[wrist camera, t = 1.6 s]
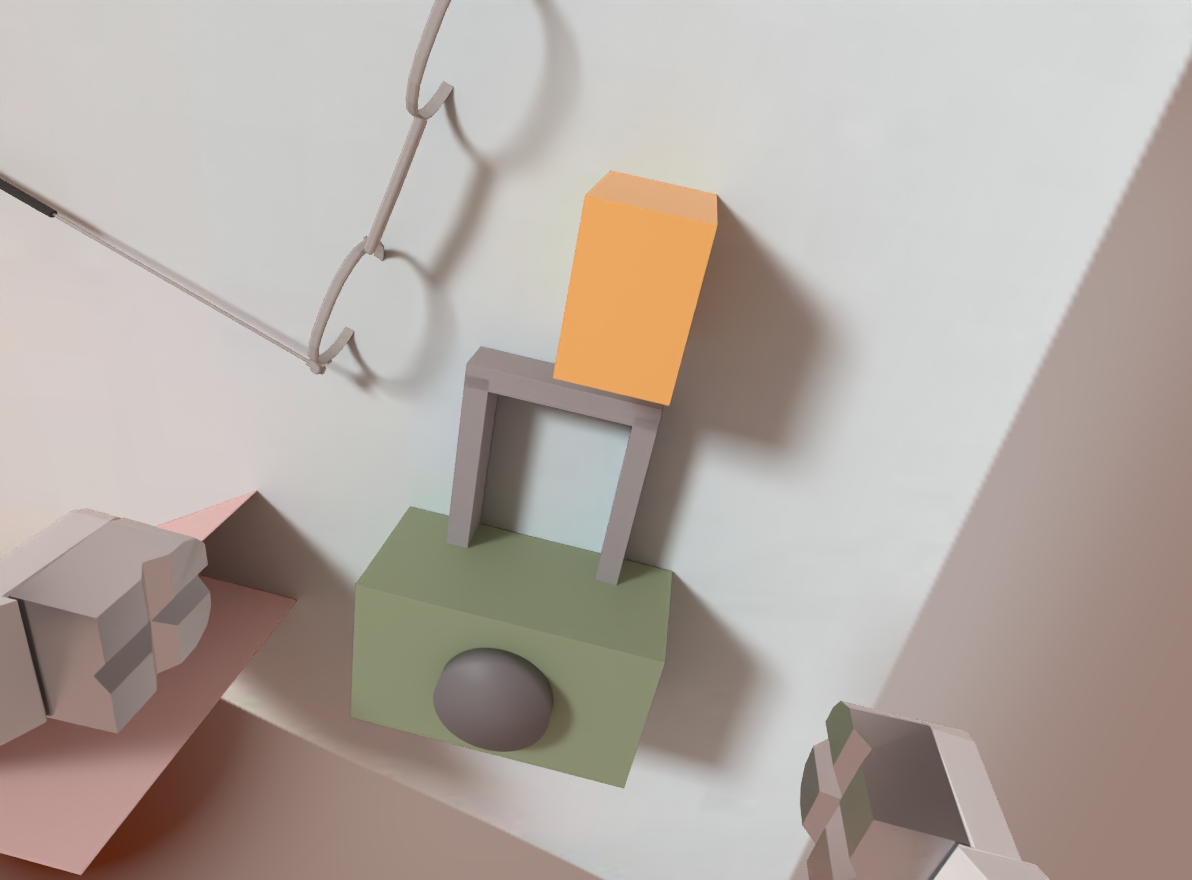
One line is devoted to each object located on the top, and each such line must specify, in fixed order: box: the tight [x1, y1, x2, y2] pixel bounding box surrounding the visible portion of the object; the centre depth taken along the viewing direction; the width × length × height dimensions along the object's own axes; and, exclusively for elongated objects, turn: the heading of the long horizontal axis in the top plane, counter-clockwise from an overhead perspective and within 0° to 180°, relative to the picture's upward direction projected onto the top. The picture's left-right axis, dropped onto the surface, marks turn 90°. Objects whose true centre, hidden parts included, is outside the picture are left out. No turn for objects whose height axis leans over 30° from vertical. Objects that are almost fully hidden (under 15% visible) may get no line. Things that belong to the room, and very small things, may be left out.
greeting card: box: [0, 491, 297, 875], centre depth 31 cm, size 11×7×15 cm, turn 79°
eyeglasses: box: [0, 0, 453, 374], centre depth 25 cm, size 18×19×4 cm
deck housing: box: [350, 347, 673, 788], centre depth 31 cm, size 17×13×7 cm
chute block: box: [553, 171, 718, 406], centre depth 25 cm, size 6×4×6 cm, turn 169°
